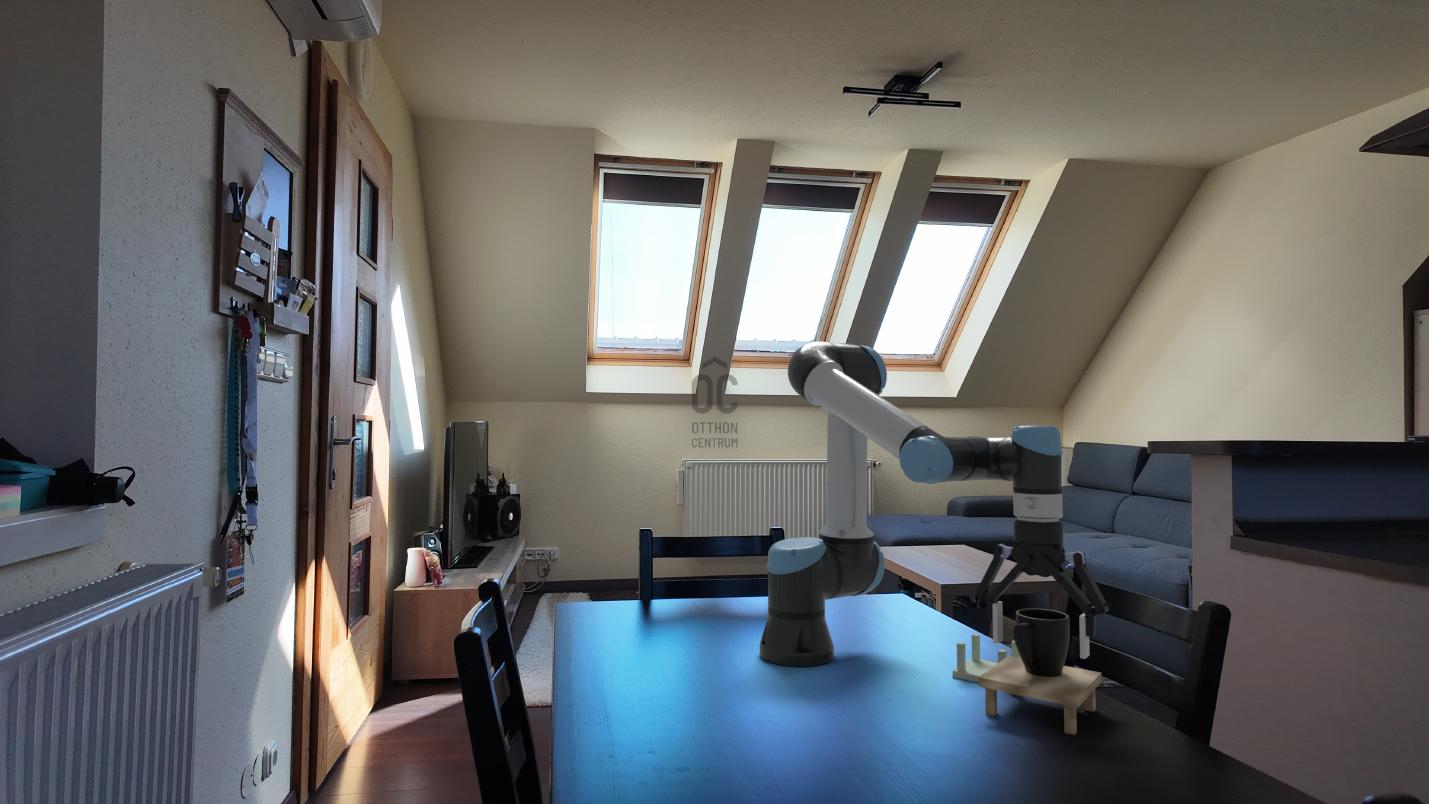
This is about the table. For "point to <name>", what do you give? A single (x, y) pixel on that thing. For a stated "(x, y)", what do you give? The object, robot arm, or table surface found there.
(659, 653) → the table surface
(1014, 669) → the oak stool
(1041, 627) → the mug
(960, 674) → the upturned footstool
